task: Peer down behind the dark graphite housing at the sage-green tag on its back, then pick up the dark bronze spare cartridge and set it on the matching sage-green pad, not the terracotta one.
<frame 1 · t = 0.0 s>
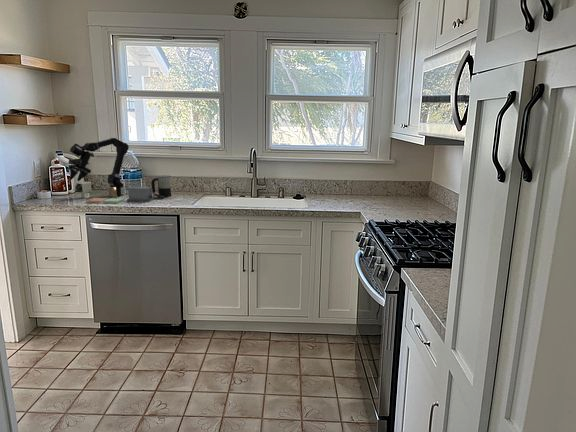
hand: (74, 180, 286), 15 cm above the worktop, tool tilted 35°, fingers open, 9 cm apart
pneumatic valve: (85, 198, 305), on the worktop
sage pad: (114, 201, 291), on the worktop
graphite housing: (141, 200, 298), on the worktop
coffee carafe: (162, 197, 310), on the worktop
terracotta pad: (97, 201, 292), on the worktop
bronze cartridge: (113, 198, 303), on the worktop
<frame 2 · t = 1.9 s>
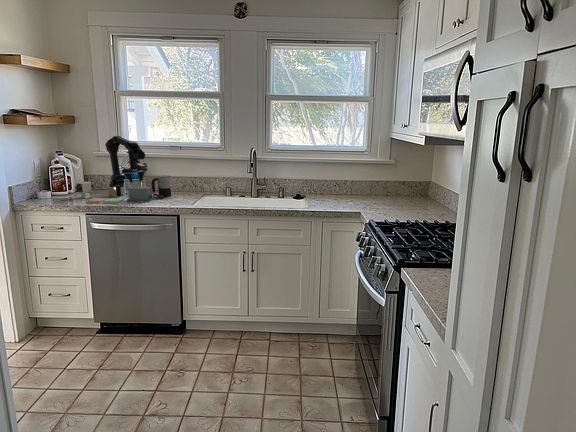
hand: (136, 182, 296), 12 cm above the worktop, tool pointing down, fingers open, 9 cm apart
nothing on the worktop moved.
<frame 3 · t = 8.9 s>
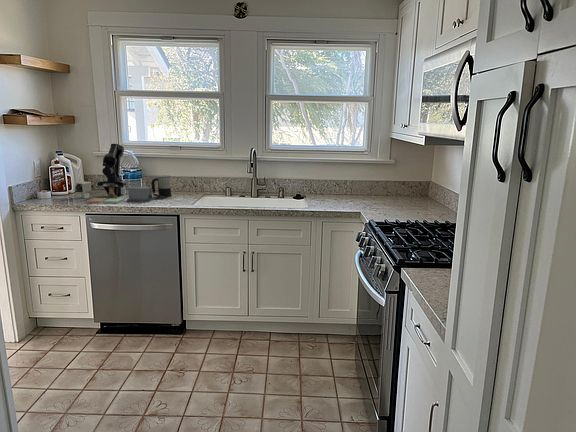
hand: (112, 195, 302), 2 cm above the worktop, tool pointing down, fingers closed on bronze cartridge, 5 cm apart
bronze cartridge: (113, 198, 303), on the worktop, touching gripper
everything else where it was.
when the fingers open (4 cm above the worktop, at t = 13.8 s): bronze cartridge stays where it is, resting on sage pad.
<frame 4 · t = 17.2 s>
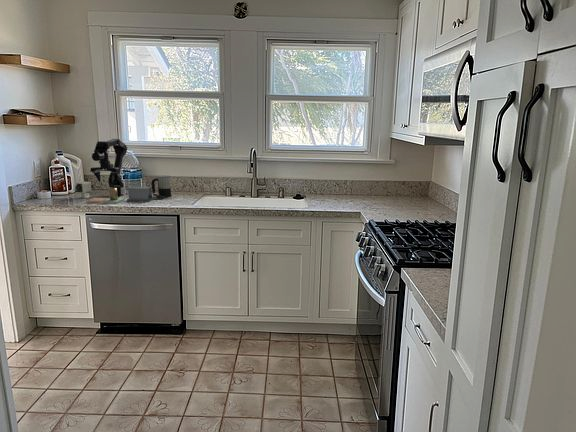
hand: (106, 182, 299), 12 cm above the worktop, tool pointing down, fingers open, 9 cm apart
bronze cartridge: (113, 199, 290), point 2 cm above the worktop, touching sage pad
at the end: bronze cartridge 0.0 cm off-centre on the sage pad, point 1.5 cm above the sage pad's base; bronze cartridge tilted 1°; the gripper is holding nothing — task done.
